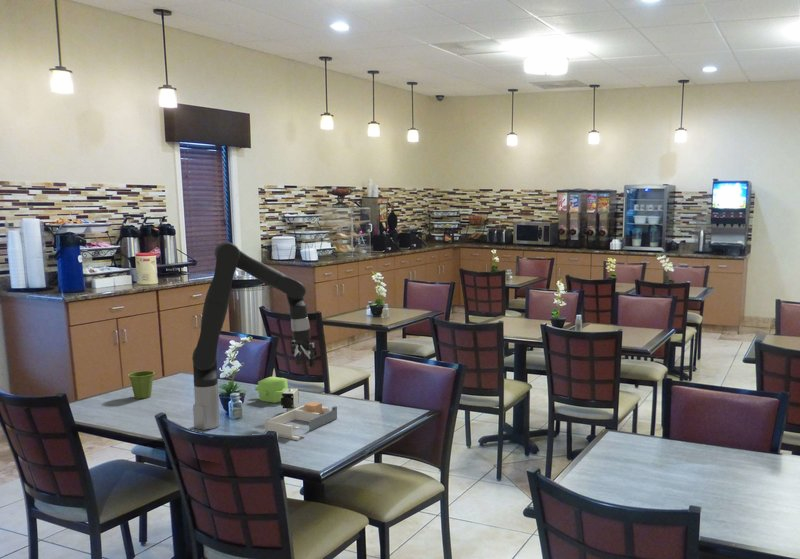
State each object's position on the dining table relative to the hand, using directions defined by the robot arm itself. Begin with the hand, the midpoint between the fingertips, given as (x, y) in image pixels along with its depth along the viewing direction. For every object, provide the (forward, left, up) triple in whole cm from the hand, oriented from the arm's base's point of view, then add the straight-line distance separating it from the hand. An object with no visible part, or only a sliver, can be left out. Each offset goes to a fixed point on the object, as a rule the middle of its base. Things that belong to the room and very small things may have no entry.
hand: (305, 365), depth 288 cm
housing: (-15, -10, -21) cm, 27 cm away
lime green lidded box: (+9, +29, -21) cm, 37 cm away
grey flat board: (-11, -17, -20) cm, 28 cm away
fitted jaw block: (-6, -8, -20) cm, 22 cm away
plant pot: (-16, +86, -21) cm, 89 cm away
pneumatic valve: (-6, +5, -21) cm, 22 cm away
